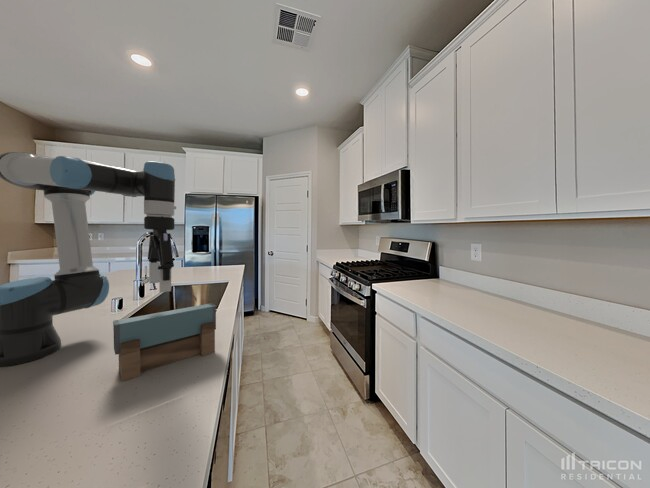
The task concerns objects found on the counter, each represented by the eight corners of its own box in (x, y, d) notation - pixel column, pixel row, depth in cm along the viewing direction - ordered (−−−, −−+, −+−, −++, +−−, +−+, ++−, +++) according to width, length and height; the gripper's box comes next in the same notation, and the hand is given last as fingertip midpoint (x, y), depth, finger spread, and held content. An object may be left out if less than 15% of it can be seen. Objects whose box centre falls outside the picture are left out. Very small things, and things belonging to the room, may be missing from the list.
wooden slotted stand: (118, 370, 71) (118, 335, 71) (206, 344, 88) (206, 316, 88) (121, 381, 66) (121, 344, 66) (214, 352, 83) (214, 322, 82)
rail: (113, 349, 69) (113, 320, 69) (211, 325, 87) (211, 303, 87) (115, 354, 66) (114, 325, 66) (215, 329, 84) (215, 305, 84)
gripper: (186, 217, 68) (186, 293, 70) (163, 217, 86) (163, 278, 87) (154, 215, 63) (154, 298, 64) (136, 215, 81) (137, 281, 82)
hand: (159, 287), depth 76 cm, fingers open, 13 cm apart
